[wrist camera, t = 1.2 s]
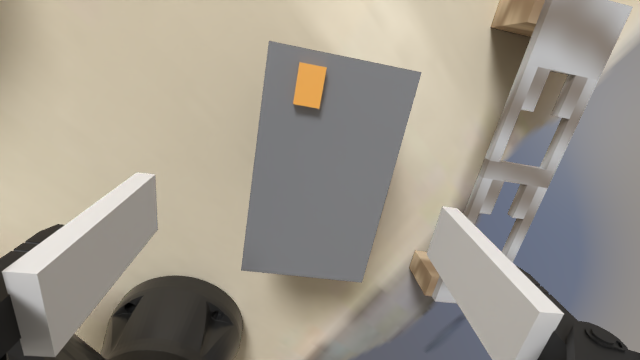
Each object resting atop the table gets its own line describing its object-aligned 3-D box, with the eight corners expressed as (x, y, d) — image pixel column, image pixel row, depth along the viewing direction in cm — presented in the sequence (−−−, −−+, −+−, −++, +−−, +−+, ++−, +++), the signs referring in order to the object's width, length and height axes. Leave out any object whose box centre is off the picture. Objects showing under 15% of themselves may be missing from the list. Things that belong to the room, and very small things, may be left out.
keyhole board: (470, 274, 41) (498, 307, 35) (409, 267, 39) (427, 300, 34) (579, 17, 30) (641, 9, 25) (500, -2, 29) (548, -16, 24)
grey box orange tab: (340, 214, 36) (363, 287, 24) (257, 203, 34) (239, 275, 23) (375, 67, 30) (425, 72, 19) (277, 47, 29) (268, 40, 18)
